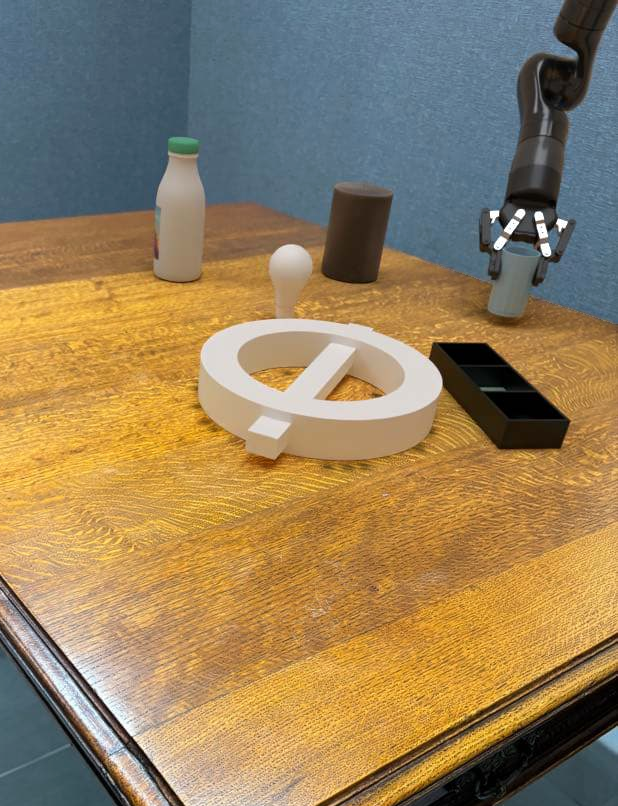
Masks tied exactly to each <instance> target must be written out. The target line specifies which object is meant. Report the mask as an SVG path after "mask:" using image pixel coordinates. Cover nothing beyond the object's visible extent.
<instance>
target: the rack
mask: <svg viewBox="0 0 618 806" xmlns="http://www.w3.org/2000/svg"><path fill="white" fill-rule="evenodd" d="M428 359H429V360H430V361H431V362H432V363H433V364H434V365H435V366H436V368H437V369H438V371H439V372H440V374H441V377H442V383H443V384H442V387H444V388H445V389H446V390H447V392H448V393H449V394H450V395H451V396H452V397H453V399H454V400H455V401H456V402H457V403H458V405H460V406H461V408H462V409H463V410H464V411H465V412H466V413H467V415H468V416H469V417H470V418H471V419H472V420H473V421H474V422H475V424H476V425H477V426H478V427H479V428H480V429H481V431H483V432H484V433H485V435H486V436H487V437H488V438H489V439H490V440H491V442H492V443H493V444H494V445H495V446H496V447H497V449H498V450H501V449H502V450H518V449H519V450H520V449H521V450H522V449H527V450H528V449H529V450H530V449H561V448H562V445H563V443H564V441H565V437H566V435H567V433H568V430H569V428H570V424H571V422H572V420H571V419H570V418H569V417H567V415H566V414H564V412H562V411H561V409H559V408H558V407H557V406H555V404H554V403H552V401H550V400H549V399H548V398H547V397H546V396H545V395H544V394H542V392H541V391H540V390H538V389H537V387H535V386H534V385H533V384H532V383H531V382H529V380H528V379H526V378H525V377H524V375H522V374H521V373H520V372H519V370H517V369H516V368H515V367H514V366H513V365H511V364H510V362H509V361H507V360H506V359H505V358H504V357H503V356H502V355H501V354H499V352H497V351H496V350H495V349H494V348H493V347H492V346H491V345H490V344H489V343H487V342H466V341H465V342H462V341H461V342H459V341H458V342H456V341H454V342H453V341H445V342H444V341H432V343H431V348H430V353H429V356H428Z"/></svg>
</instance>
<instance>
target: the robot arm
mask: <svg viewBox="0 0 618 806" xmlns="http://www.w3.org/2000/svg"><path fill="white" fill-rule="evenodd" d="M617 6H618V0H563V2H562V5H561V7H560V9H559V11H558V15H557V16H556V19H555V21H554V24H553V28H552V32H553V36H554V38H555V39H556V40H557V41H558V42H559V43H561V44H562V45H564V46H566V47H568V48H569V49H571V50H573V51H574V52H575V53H576V56H575V58H570V57H565V56H562V55H557V54H553V53H548V52H536V53H534V54H532V55H531V56H529V57H528V58H527V59H526V60H525V61H524V63H523V65H522V66H521V68H520V70H519V73H518V76H517V80H516V102H517V108H518V115H519V132H518V137H517V143H516V147H515V148H516V149H515V153H514V156H513V158H512V161H511V165H510V169H509V171H508V177H507V178H508V180H507V183H506V191H505V195H504V200H503V205H502V207H501V208H500V209H499V210H491V209H490V208H489V207H483V208H482V209H481V212H480V215H479V218H478V248H479V249H478V250H479V252H481V253H482V254H483V253H484V254H485V253H487V254H488V255H489V262H488V267H487V273H486V274H487V276H488V277H490V281H494V280H496V278H497V276H498V272H499V267H500V262H501V256H502V250H503V248H504V247H505V246H509V243H510V242H513V243H519V242H522V243H525V244H528V245H532V249H534V250H537V251H539V252H540V253H541V258H540V261H539V264H538V267H537V271H536V274H535V277H534V281H533V284H532V287H535V288H538V287H539V284H543V282H544V281H545V279H546V277H547V275H548V267H549V264H550V263H553V264H559V262H560V261H561V260H562V257H563V255H564V254H565V251H566V250H567V247H568V245H569V243H570V239H571V237H572V236H573V233H574V230H575V227H576V225H577V220H576V219H573V218H570V219H569V220H568V221H567V220H564V219H560V218H559V216H558V213H557V207H558V201H559V195H560V190H561V184H562V180H563V174H564V168H565V155H566V148H567V142H568V137H569V133H570V132H569V131H570V123H571V122H570V117H569V116H568V114H567V113H570V112H572V111H573V112H574V110H576V109H577V108H578V107H579V106H580V105H581V104H582V103H583V102H584V101H585V99H586V97H587V95H588V93H589V90H590V86H591V81H592V75H593V69H594V65H595V60H596V57H597V53H598V50H599V47H600V44H601V41H602V38H603V36H604V33H605V31H606V29H607V27H608V25H609V23H610V20H611V19H612V18H613V17H612V16H613V14H614V13H615V11H616V8H617ZM495 221H498V223H499V225H500V227H501V228H502V230H503V231H502V232H501V234H500V235H499V237H498V239H496V241H493V240H492V237H491V235H492V234H491V228H492V227H493V226H494V224H495ZM553 229H556V235H557V236H558V238H559V240H558V241H557V242H558V243H557V245H556V247H555V249H551V245H550V242H549V241H550V239H549V238H550V237H549V232H551V231H552V230H553Z"/></svg>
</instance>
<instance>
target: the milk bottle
mask: <svg viewBox="0 0 618 806" xmlns="http://www.w3.org/2000/svg"><path fill="white" fill-rule="evenodd" d="M199 151H200V141H199V140H198V139H196V138H192V137H187V136H186V137H185V136H172V137H169V138H168V141H167V155H168V161H167V162H168V163H167V166H166V169H165V172H164V174H163V176H162V179H161V181H160V183H159V186H158V189H157V193H156V199H155V208H154V209H155V213H154V233H153V234H154V235H153V236H154V237H153V263H152V264H153V265H152V267H153V273H154V276H156V277H157V278H159V279H162V280H165V281H168V282H169V281H170V282H176V283H177V282H178V283H179V282H181V283H182V282H183V283H184V282H185V283H187V282H192V281H193V282H194V281H196V280H198V279H199V278H200V277H201V274H202V265H203V253H204V252H203V251H204V236H205V222H206V221H205V220H206V195H205V190H204V185H203V183H202V179H201V177H200V173H199V168H198V162H197V161H198V158H199V156H200V155H199Z"/></svg>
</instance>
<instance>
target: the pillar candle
mask: <svg viewBox="0 0 618 806" xmlns="http://www.w3.org/2000/svg"><path fill="white" fill-rule="evenodd" d="M393 199H394V191H393V190H391V188H388V187H384V186H380V185H376V184H372V183H371V184H370V183H366V180H365V179H364V180H363V183H362V182H351V181H344V182H339V183H336V184H334V187H333V193H332V199H331V205H330V212H329V218H328V225H327V231H326V237H325V243H324V249H323V253H322V254H323V255H322V261H321V265H320V268H321V269H320V270H321V272H322V274H324V276H326V277H328V278H330V279H333V280H337V281H341V282H347V283H354V284H364V283H371V282H374V281H376V280H377V279H378V278H379V277H378V276H379V271H380V267H381V262H382V258H383V257H382V256H383V252H384V246H385V241H386V235H387V230H388V225H389V219H390V215H391V210H392V204H393Z"/></svg>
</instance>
